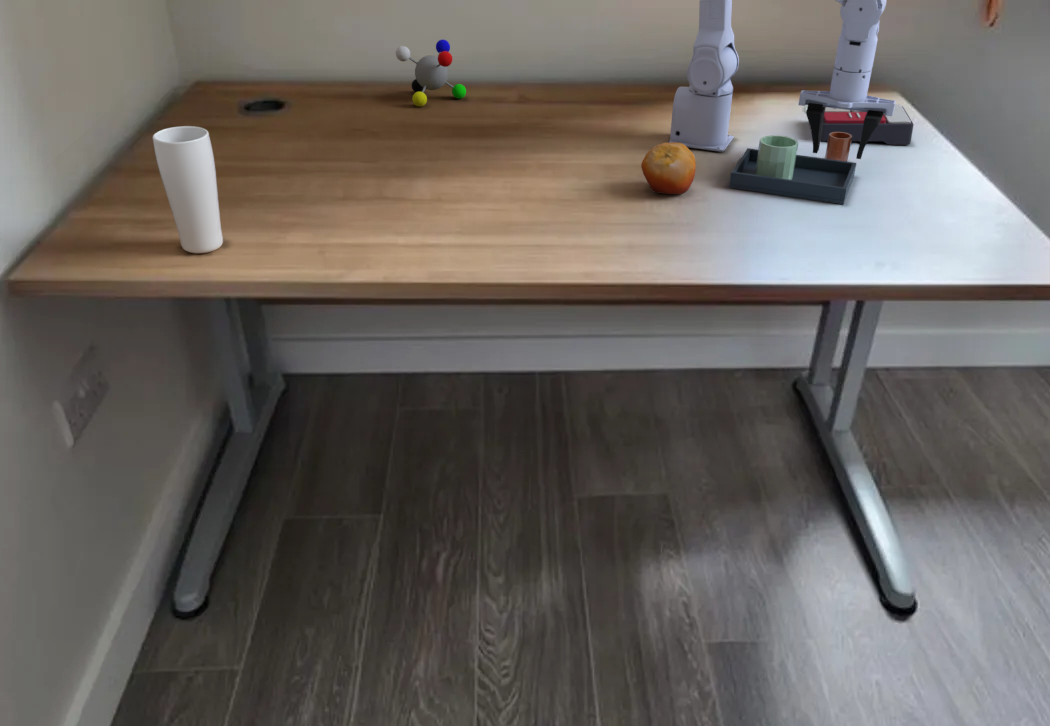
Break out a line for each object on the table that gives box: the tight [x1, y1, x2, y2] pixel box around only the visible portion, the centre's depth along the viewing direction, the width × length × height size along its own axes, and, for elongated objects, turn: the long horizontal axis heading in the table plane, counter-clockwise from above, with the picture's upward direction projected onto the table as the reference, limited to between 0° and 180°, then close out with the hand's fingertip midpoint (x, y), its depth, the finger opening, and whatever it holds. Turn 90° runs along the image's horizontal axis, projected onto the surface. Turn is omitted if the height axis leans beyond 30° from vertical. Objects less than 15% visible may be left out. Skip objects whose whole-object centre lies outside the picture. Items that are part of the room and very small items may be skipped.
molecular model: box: [395, 39, 467, 108], centre depth 183 cm, size 11×13×10 cm
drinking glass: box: [152, 125, 224, 254], centre depth 124 cm, size 7×7×15 cm
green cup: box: [755, 134, 799, 180], centre depth 150 cm, size 6×6×6 cm
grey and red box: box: [820, 103, 915, 146], centre depth 170 cm, size 11×4×15 cm
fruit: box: [640, 142, 697, 195], centre depth 146 cm, size 8×8×8 cm
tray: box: [728, 147, 858, 205], centre depth 151 cm, size 17×12×2 cm
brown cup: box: [824, 132, 853, 162], centre depth 158 cm, size 4×4×4 cm
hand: (837, 154), depth 158 cm, fingers open, 6 cm apart
